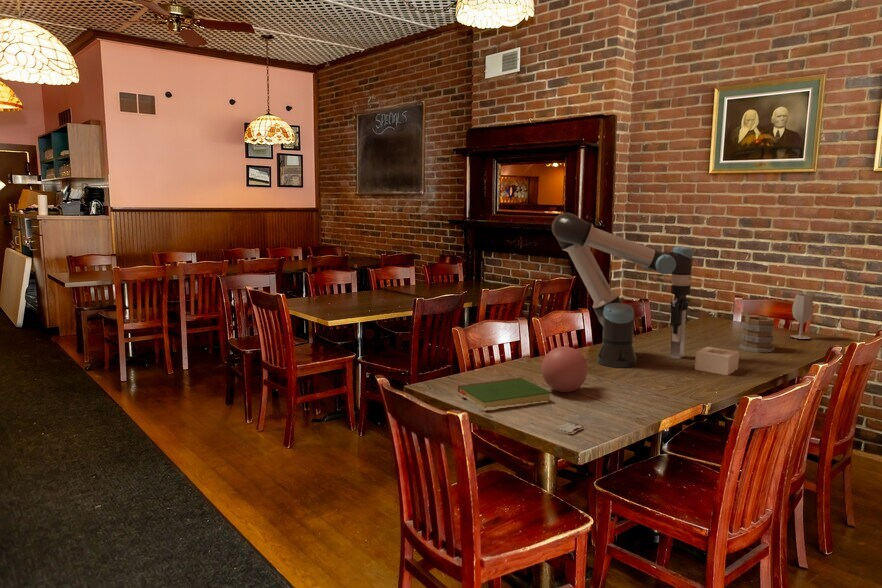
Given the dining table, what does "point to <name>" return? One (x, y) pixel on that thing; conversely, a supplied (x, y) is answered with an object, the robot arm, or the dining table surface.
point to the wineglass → (802, 312)
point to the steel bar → (678, 347)
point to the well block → (717, 360)
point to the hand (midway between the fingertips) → (677, 340)
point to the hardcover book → (504, 392)
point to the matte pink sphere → (564, 369)
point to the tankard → (757, 333)
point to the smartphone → (570, 427)
